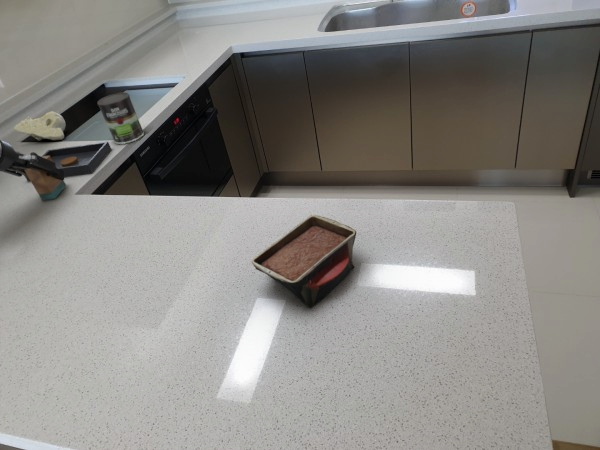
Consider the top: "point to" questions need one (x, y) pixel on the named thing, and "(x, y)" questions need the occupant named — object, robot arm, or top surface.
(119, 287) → the top surface
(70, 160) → the grease smear
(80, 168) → the pan
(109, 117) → the coffee can
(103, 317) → the top surface
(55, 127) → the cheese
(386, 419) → the top surface
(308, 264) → the baking dish
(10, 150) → the robot arm
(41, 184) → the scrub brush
